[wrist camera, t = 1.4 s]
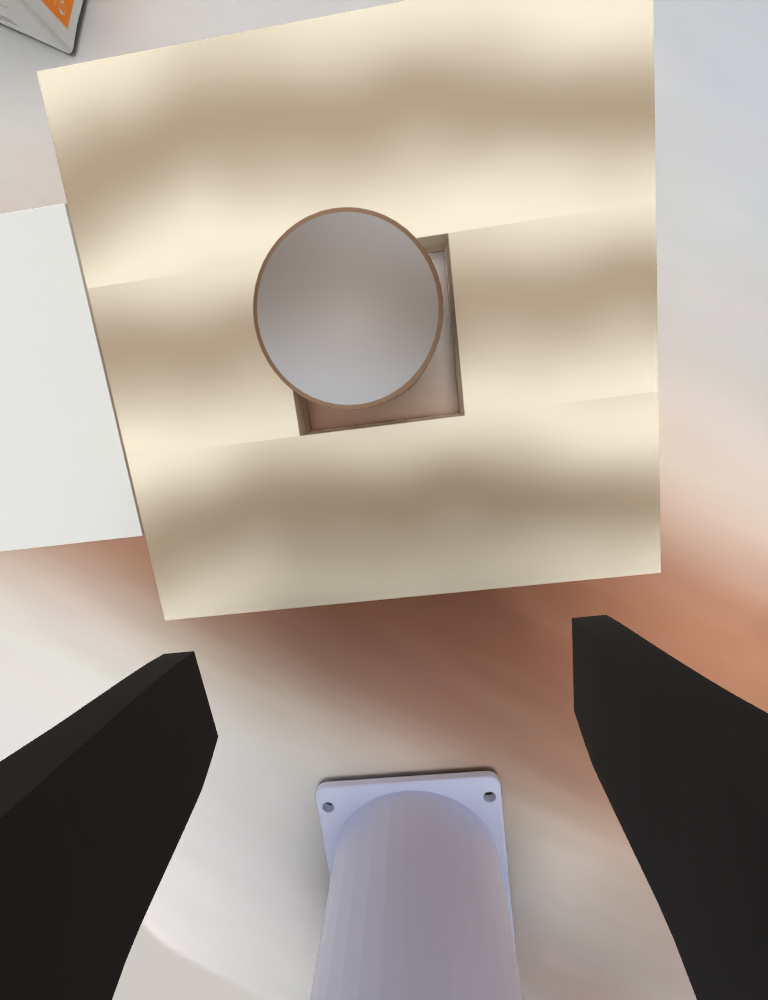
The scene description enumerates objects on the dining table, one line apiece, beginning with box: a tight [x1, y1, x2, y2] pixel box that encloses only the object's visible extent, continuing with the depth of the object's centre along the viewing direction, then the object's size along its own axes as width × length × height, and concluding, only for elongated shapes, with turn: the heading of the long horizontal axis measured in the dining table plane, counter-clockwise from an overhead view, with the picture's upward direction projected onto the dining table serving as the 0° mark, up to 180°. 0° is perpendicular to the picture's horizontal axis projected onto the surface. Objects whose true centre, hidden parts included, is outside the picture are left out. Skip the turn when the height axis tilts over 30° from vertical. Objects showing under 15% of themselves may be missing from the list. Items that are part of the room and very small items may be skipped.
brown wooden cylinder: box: [253, 207, 443, 410], centre depth 14 cm, size 4×4×8 cm
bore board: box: [37, 0, 661, 620], centre depth 17 cm, size 18×18×2 cm
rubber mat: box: [0, 203, 145, 551], centre depth 19 cm, size 12×8×1 cm, turn 7°
